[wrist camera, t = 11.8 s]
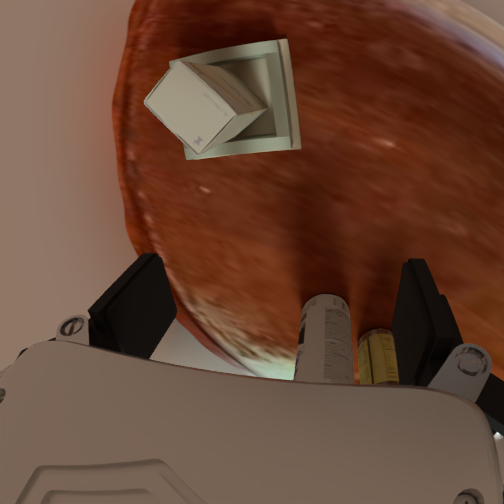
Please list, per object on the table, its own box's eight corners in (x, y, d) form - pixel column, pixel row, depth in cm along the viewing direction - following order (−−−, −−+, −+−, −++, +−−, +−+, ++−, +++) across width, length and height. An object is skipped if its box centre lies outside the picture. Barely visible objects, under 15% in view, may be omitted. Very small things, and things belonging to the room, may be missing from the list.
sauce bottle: (369, 359, 44) (372, 473, 27) (349, 338, 43) (348, 461, 26) (404, 341, 41) (422, 458, 24) (387, 317, 40) (404, 444, 23)
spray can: (297, 295, 41) (275, 429, 24) (347, 288, 38) (352, 425, 21) (306, 330, 43) (290, 456, 26) (352, 325, 41) (355, 453, 24)
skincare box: (270, 107, 29) (242, 115, 19) (240, 135, 31) (198, 160, 21) (227, 67, 27) (178, 56, 17) (199, 96, 30) (140, 103, 19)
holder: (287, 40, 25) (283, 32, 22) (301, 147, 31) (299, 155, 27) (179, 59, 28) (161, 57, 25) (196, 158, 34) (181, 167, 30)
